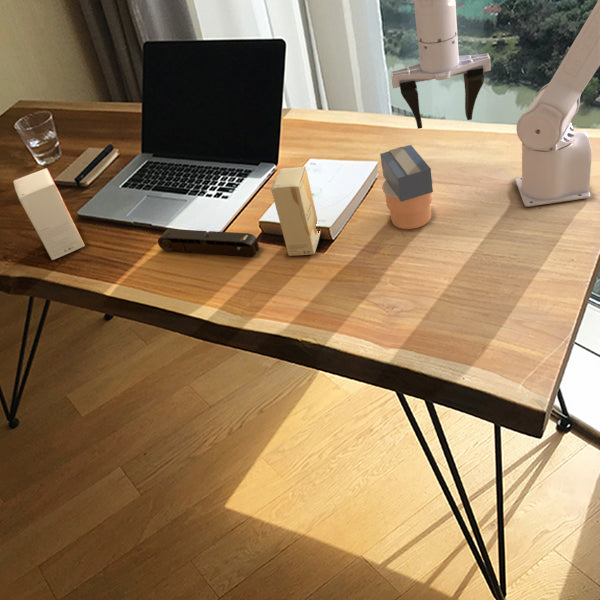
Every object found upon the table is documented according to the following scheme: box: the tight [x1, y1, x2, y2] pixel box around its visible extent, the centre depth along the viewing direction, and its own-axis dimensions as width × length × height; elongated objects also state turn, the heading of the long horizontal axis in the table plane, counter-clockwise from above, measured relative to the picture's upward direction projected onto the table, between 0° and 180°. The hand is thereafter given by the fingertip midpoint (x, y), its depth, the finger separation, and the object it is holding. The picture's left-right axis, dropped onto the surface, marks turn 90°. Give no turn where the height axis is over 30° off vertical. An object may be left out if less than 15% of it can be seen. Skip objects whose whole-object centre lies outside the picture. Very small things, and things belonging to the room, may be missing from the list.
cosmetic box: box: [270, 166, 321, 257], centre depth 104 cm, size 6×4×12 cm
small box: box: [13, 167, 86, 261], centre depth 119 cm, size 8×6×13 cm
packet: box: [379, 144, 434, 202], centre depth 102 cm, size 8×5×4 cm, turn 12°
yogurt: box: [381, 180, 433, 230], centre depth 105 cm, size 8×8×6 cm
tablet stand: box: [157, 228, 260, 257], centre depth 111 cm, size 18×3×3 cm, turn 68°
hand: (444, 121), depth 107 cm, fingers open, 7 cm apart
